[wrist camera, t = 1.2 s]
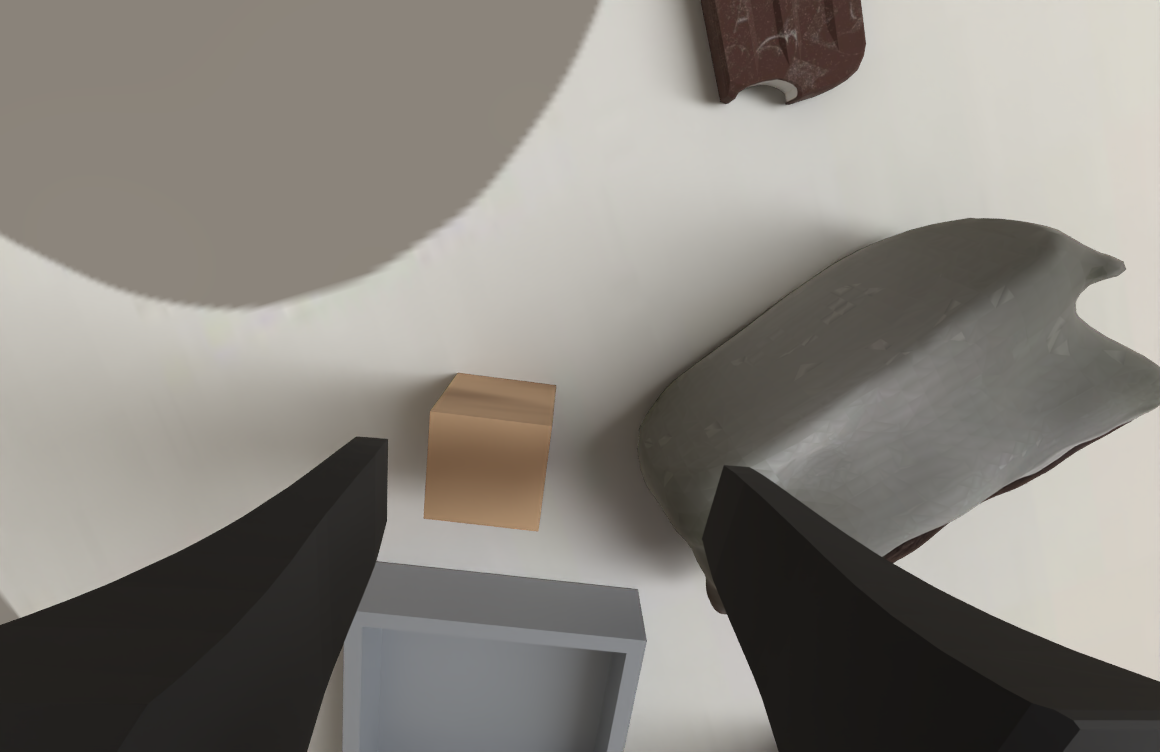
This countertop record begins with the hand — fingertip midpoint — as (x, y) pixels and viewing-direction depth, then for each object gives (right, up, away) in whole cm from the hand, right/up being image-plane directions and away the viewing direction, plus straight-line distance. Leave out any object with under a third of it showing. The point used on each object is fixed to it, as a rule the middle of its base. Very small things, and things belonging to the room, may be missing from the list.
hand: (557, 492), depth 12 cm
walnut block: (-3, 0, +14) cm, 14 cm away
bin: (-4, -14, +18) cm, 23 cm away
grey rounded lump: (+12, +1, +14) cm, 19 cm away
